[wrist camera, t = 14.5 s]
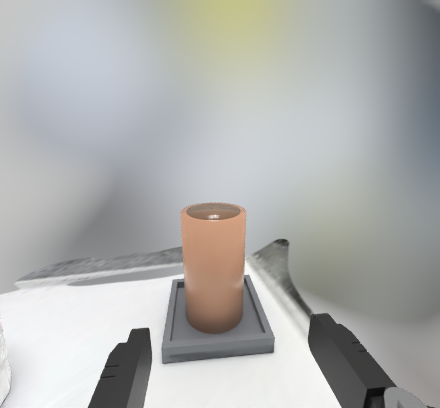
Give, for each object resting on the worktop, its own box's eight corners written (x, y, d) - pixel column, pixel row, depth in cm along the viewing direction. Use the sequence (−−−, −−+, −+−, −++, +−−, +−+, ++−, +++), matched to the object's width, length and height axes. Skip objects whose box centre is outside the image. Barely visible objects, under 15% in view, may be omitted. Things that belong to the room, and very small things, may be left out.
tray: (162, 363, 19) (161, 348, 18) (173, 290, 28) (172, 279, 28) (273, 352, 20) (274, 337, 19) (248, 285, 29) (249, 274, 29)
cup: (184, 336, 20) (178, 222, 17) (187, 294, 26) (182, 202, 23) (248, 331, 21) (253, 219, 18) (237, 290, 27) (239, 201, 24)
